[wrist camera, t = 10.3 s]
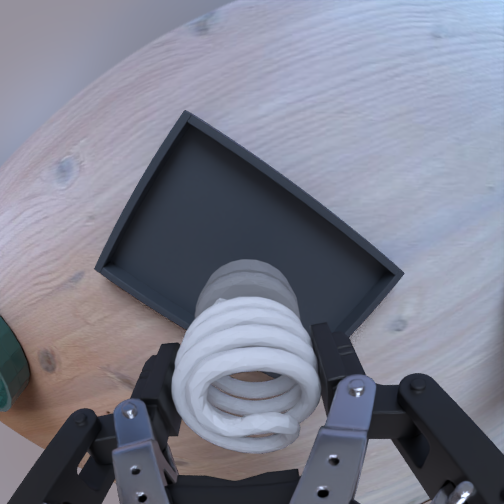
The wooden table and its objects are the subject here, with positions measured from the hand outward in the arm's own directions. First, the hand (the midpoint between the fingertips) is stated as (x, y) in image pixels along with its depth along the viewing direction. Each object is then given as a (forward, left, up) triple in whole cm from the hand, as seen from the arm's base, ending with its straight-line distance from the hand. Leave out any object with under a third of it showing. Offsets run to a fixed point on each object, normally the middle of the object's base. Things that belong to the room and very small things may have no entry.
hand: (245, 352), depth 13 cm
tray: (0, 0, -11) cm, 11 cm away
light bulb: (0, 0, -8) cm, 8 cm away
